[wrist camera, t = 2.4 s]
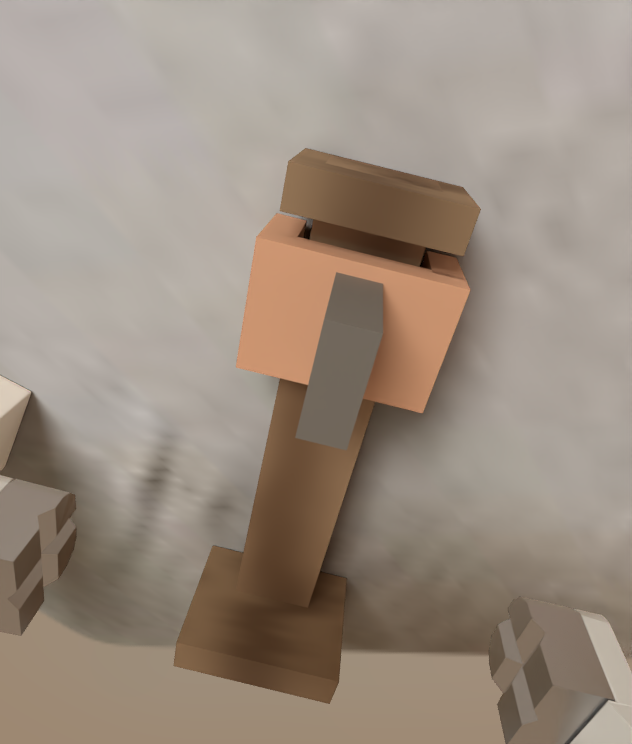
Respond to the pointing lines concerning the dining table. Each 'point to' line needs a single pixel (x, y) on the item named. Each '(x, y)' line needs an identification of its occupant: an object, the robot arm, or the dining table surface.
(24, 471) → the dining table surface
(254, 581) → the rail
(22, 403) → the milk
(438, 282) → the slider
